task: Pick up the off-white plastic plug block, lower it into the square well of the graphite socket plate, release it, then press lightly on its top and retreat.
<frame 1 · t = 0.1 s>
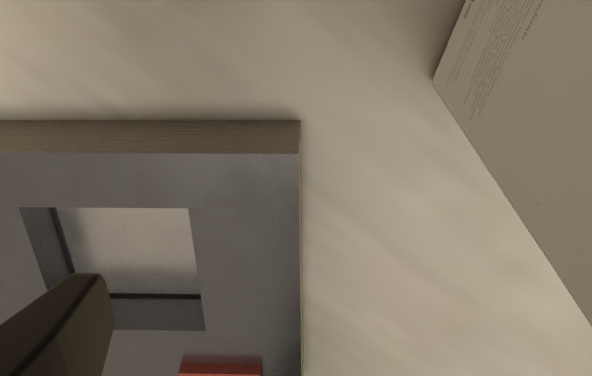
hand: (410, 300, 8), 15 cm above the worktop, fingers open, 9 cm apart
socket plate: (145, 264, 27), on the worktop
skincare box: (558, 35, 20), on the worktop, touching gripper
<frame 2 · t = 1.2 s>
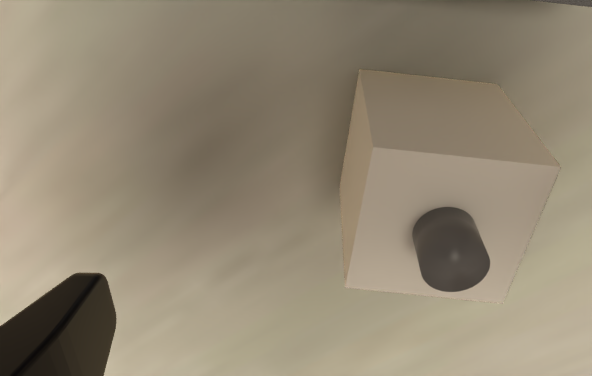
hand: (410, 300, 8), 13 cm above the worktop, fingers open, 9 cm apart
plug: (413, 138, 20), on the worktop
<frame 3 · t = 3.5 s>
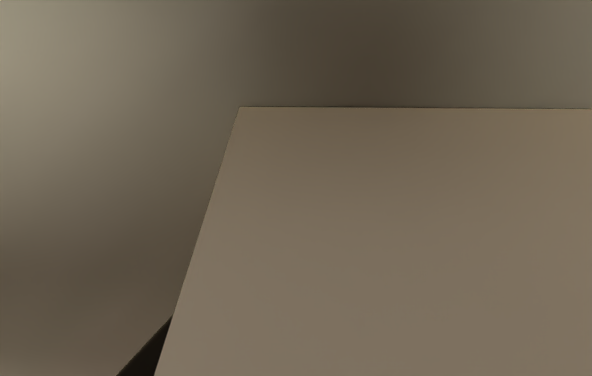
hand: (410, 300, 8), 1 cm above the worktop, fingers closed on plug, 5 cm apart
plug: (398, 247, 9), on the worktop, touching gripper
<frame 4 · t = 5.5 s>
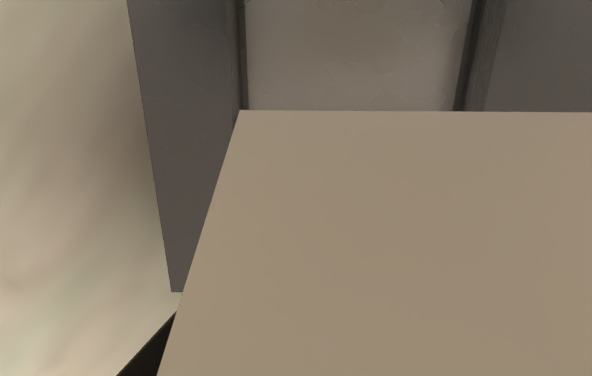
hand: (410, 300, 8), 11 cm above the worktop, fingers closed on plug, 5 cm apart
socket plate: (416, 45, 17), on the worktop
plug: (398, 250, 9), point 10 cm above the worktop, touching gripper
when the fingers open (3 cm above the worktop, at t = 7.7 s): plug drops 1 cm, resting on socket plate.
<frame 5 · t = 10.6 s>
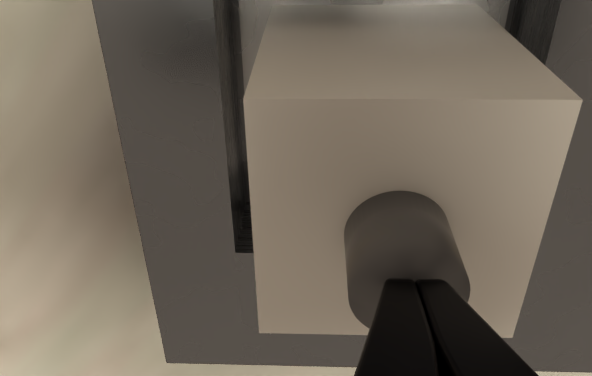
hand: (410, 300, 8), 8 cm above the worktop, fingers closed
socket plate: (436, 89, 15), on the worktop
plug: (367, 100, 14), point 1 cm above the worktop, touching socket plate
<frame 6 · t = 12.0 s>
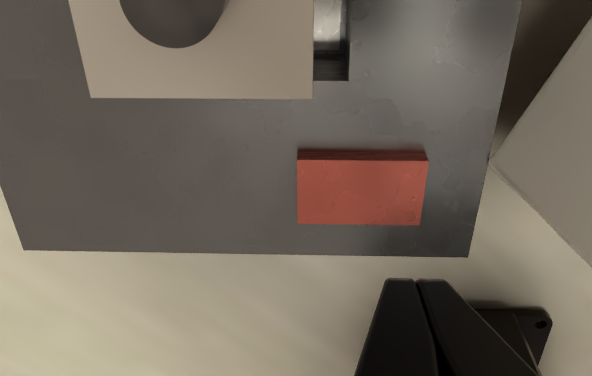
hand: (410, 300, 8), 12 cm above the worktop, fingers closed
socket plate: (238, 3, 17), on the worktop
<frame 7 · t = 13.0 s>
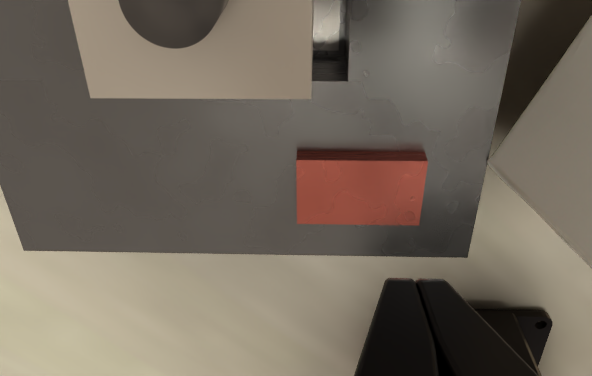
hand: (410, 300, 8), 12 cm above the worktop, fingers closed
socket plate: (238, 4, 17), on the worktop
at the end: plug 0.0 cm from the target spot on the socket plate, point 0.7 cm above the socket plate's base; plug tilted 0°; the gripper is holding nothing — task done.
